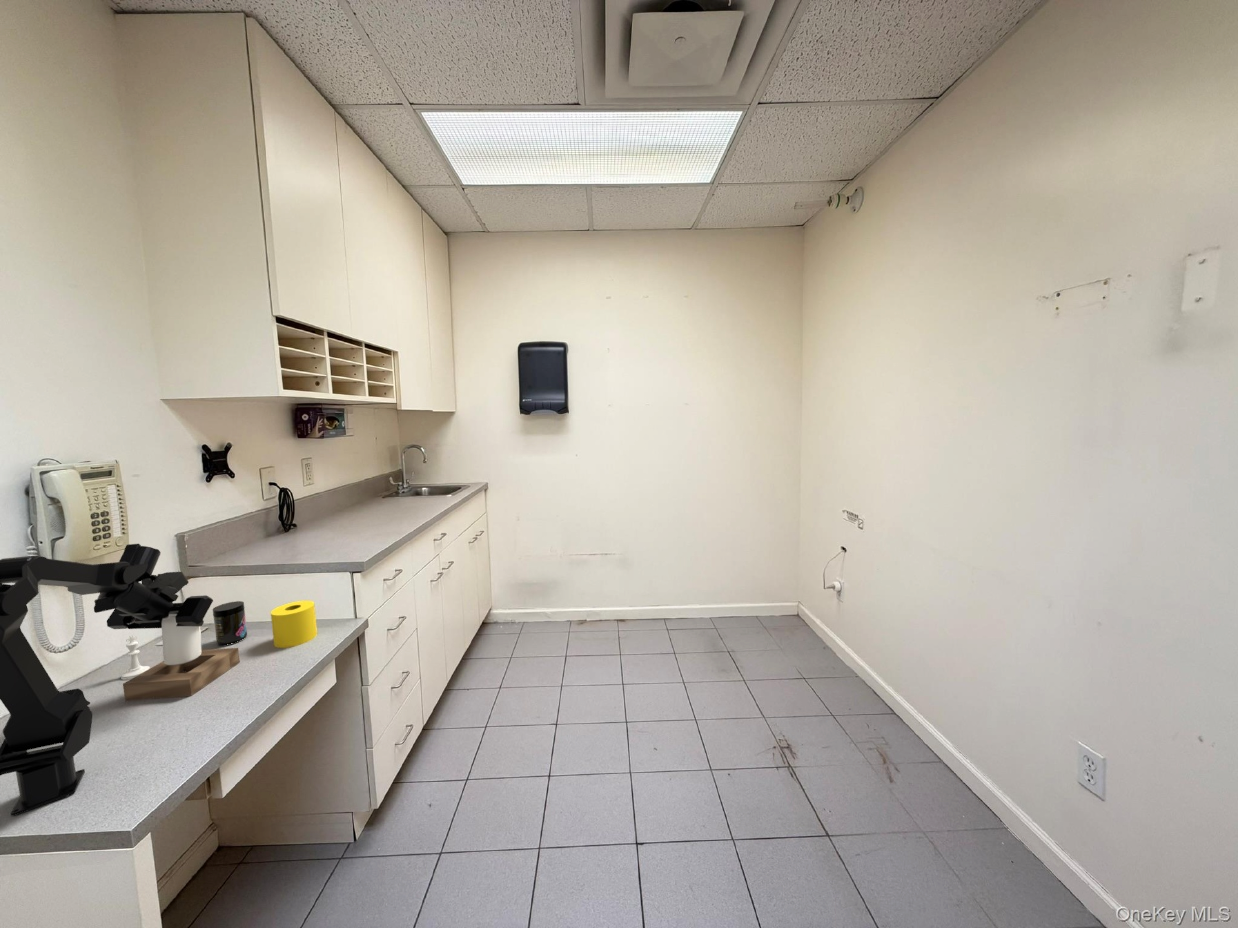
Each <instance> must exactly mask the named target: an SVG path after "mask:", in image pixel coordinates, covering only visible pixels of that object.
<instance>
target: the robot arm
mask: <svg viewBox="0 0 1238 928" xmlns="http://www.w3.org/2000/svg"><path fill="white" fill-rule="evenodd" d="M160 556H161V551H160V550H159V549H157V548H155V547H151V546H146V545H141V544H140V543H131V544H126V545H125V547H124V550H123V553H122V555H121V556H120V559H119V561H117V562H108V563H107V562H106V563H95V564H90V563H83V562H76V561H68V560H61V559H56V558H55V559H54V558H47V557H46V556H40V555H27V556H17V557H15V556H14V557H6V558H5V557H4V558H1V559H0V701H1V703H2V704H3V705H4V707H5V708H6V710H7V712H9V715H10V716H9V717H8V720H7V722H6V724H5V726H4V727H3V729H2V735H3V737H4V740H3V741H2V743H1V744H0V776H2V775H7V774H11V773H15V775H16V779H17V780H16V782H17V786H18V791H19V792H18V793H19V799H18V800H17V802H16V803H15V805H14V807H13V808H12V810H11V812H10V816H11V815H14V816H16V815H15V814H17V815H19V814H22V813H25V812H27V810H28V811H31V810H33V809H36V808H39V807H42V806H44V805H47V804H49V803H52V802H55V801H58V800H61V799H63V798H66V797H68V796H71V795H73V794H75V793H76V791H77V790H78V787H79V785H80V783H81V782H82V779H83V777H84V775H85V773H86V770H85V769H84V768H83V769H79V770H77V771H76V766H75V765H76V763H75V758H74V757H75V756H76V755H77V754H78V753H79V752H80V751H81V750H83V749H84V748H85V747H87V745H89V743H90V739H91V731H92V726H93V725H92V723H93V712H92V710H91V709H90V707H89V705H91V702H90V701H89V700H87V699H86V697H85V694H84V692H83V690H82V689H80V688H73V689H67V690H62V691H61V690H60V691H59V690H58V688H57V686H56V685H55V683H54V681H53V680H52V679H51V677H50V675H49V673H48V671H47V670H46V669H45V667H44V666H43V664H42V662H41V661H40V659H39V658H38V656H37V653H35V651H34V649H33V647H32V645H31V644H30V643H29V640H28V639H27V637H26V636H25V634H24V633H23V631H22V629H21V626H22V624H23V622H24V621H25V617H26V615H27V614H28V611H29V609H28V604H29V603H30V602H31V601H32V600H33V599H34V598H35V597H36V596H38V594H39V591H40V590H39V586H53V587H65V588H67V592H70V593H73V594H77V595H80V596H85V595H95V594H98V596H97V599H94V607H93V611H94V613H96V614H97V613H100V612H106V611H111V610H113V611H112V612H111V614H110V615H109V616H108V618H107V620H106V626H107V628H110V629H112V630H124V629H125V630H126V629H128V630H143V629H144V630H145V629H148V630H149V629H162V620H163V619H166V618H167V617H168V616H169V614H177V615H176V617H175V619H176V623H178V624H177V625H176V626H200V627H202V626H203V625H204V622H205V621H204V618H205V617H206V615H207V613H208V611H209V609H210V607H211V605H212V603H213V602H214V600H213V598H212V597H210V596H208V595H190V596H189V597H187V598H185V600H184V601H183V602H176V601H177V599H179V594H178V592H180V591H181V590H182V589H183V588H184V587H186V586H188V585H189V580H188V578H187V577H186V576H185V574H184V573H183V571H168V572H163V573H158V574H153V573H154V570H155V567H156V565H157V563H158V561H159V559H160ZM57 744H58V745H57ZM53 745H55V746H53ZM49 746H50V747H49ZM44 747H45V748H44ZM33 749H36V750H33ZM30 750H31V751H30Z"/></svg>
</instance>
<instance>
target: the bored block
mask: <svg viewBox="0 0 1238 928" xmlns="http://www.w3.org/2000/svg"><path fill="white" fill-rule="evenodd" d="M240 662H241V660H240V650H239V647H231V648H216V649H214V648H213V649H201V655H200V656H199V657H198V658H197V659H195V660H193V661H191V662H188V663H185V664H181V665H174V666H170V665H166V664H165V663H164V660H163V661H160V663H157V664H155V665H154V666H152V667H151V668H150V669H148V670H147V671H145V672H143V673H141V674H140V675H138V676H136V677H134V678H132V679H128V680H127V681H126V682H124V683H123V684H122V687H123V694H124V701H126V702H127V701H139V700H140V701H141V700H153V699H154V700H155V699H166V698H167V699H168V698H178V697H179V698H181V697H191V696H194V695H195V694H197V693H198V692H199V691H201V690H202V689H204V688H205V687H206V686H208V685H210V684H211V683H212V682H214V681H215V680H217V679H218V678H219V677H221V676H222V675H225V673H227V672H228V671H229V670H231V669H233V668H234V667H236V666H237V665H238V664H240ZM232 667H233V668H232ZM227 670H228V671H227Z"/></svg>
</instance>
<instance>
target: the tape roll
mask: <svg viewBox="0 0 1238 928" xmlns="http://www.w3.org/2000/svg"><path fill="white" fill-rule="evenodd" d="M270 619H271V620H270V621H271V628H272V639H273V646H274V647H275V648H278V649H285V648H293V647H297V646H300V645H303V644H305V643H309V642H310V641H312V640H314V639H315V638H316V637H317V635H318V630H317V617H316V609H315V601H313V600H298V601H293V602H289V603H285V604H282V605H279V606H277V607H275V608H273V609H272V610H271V611H270Z"/></svg>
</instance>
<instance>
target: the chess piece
mask: <svg viewBox="0 0 1238 928" xmlns="http://www.w3.org/2000/svg"><path fill="white" fill-rule="evenodd" d="M137 639H138V638H137V636H135V637H134V636H133V635H130V636H129V638H128V639H126V641H125V642H128V643H127V644H125V646H126V648H127V649H128V650H129V652H128V653H126V656H130V663H129V664H130V665H129V666H130V668H128V670H127V671H125V672H123V673H122V674H121V680H124V681H125V680H127V681H129V680H131V679H132V678H134V677H136V676H138V675H140V674H141V673H143V672H145V671H147V670H148V669H150V666H148V665H141V663H140V662H139V658H138V654H139V653H140V652H141V651H140V650H139V649H138V644H139V642H138V641H134V640H137Z"/></svg>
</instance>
